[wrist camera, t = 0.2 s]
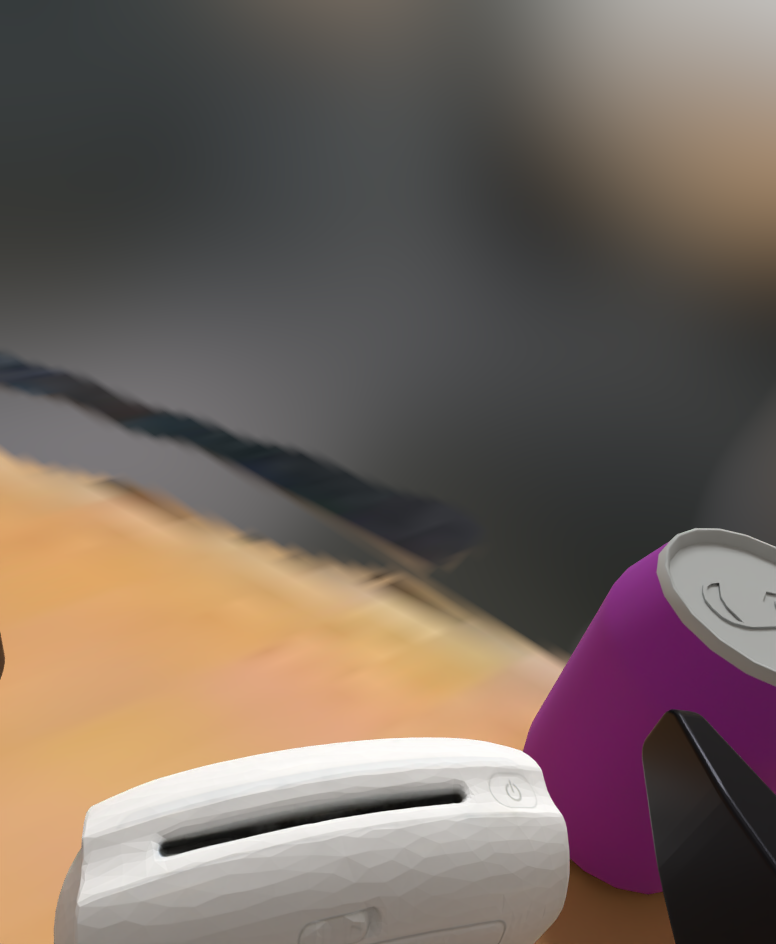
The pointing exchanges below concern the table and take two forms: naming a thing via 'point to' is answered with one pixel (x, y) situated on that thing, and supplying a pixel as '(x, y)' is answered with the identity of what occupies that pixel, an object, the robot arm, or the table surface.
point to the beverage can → (659, 691)
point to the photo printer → (326, 851)
